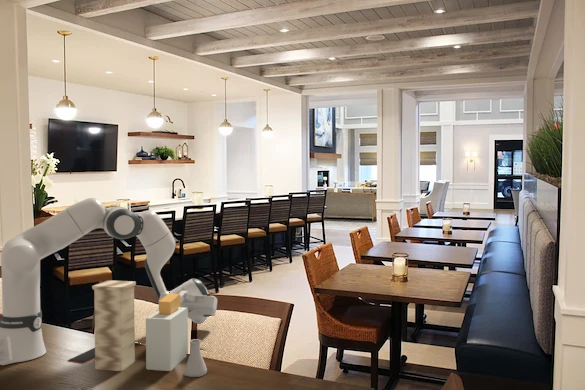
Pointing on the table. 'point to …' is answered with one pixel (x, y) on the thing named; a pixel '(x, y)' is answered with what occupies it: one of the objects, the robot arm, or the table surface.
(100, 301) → the high stand
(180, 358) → the pale green block
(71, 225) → the robot arm
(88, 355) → the smartphone
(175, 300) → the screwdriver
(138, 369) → the table surface
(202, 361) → the flask
